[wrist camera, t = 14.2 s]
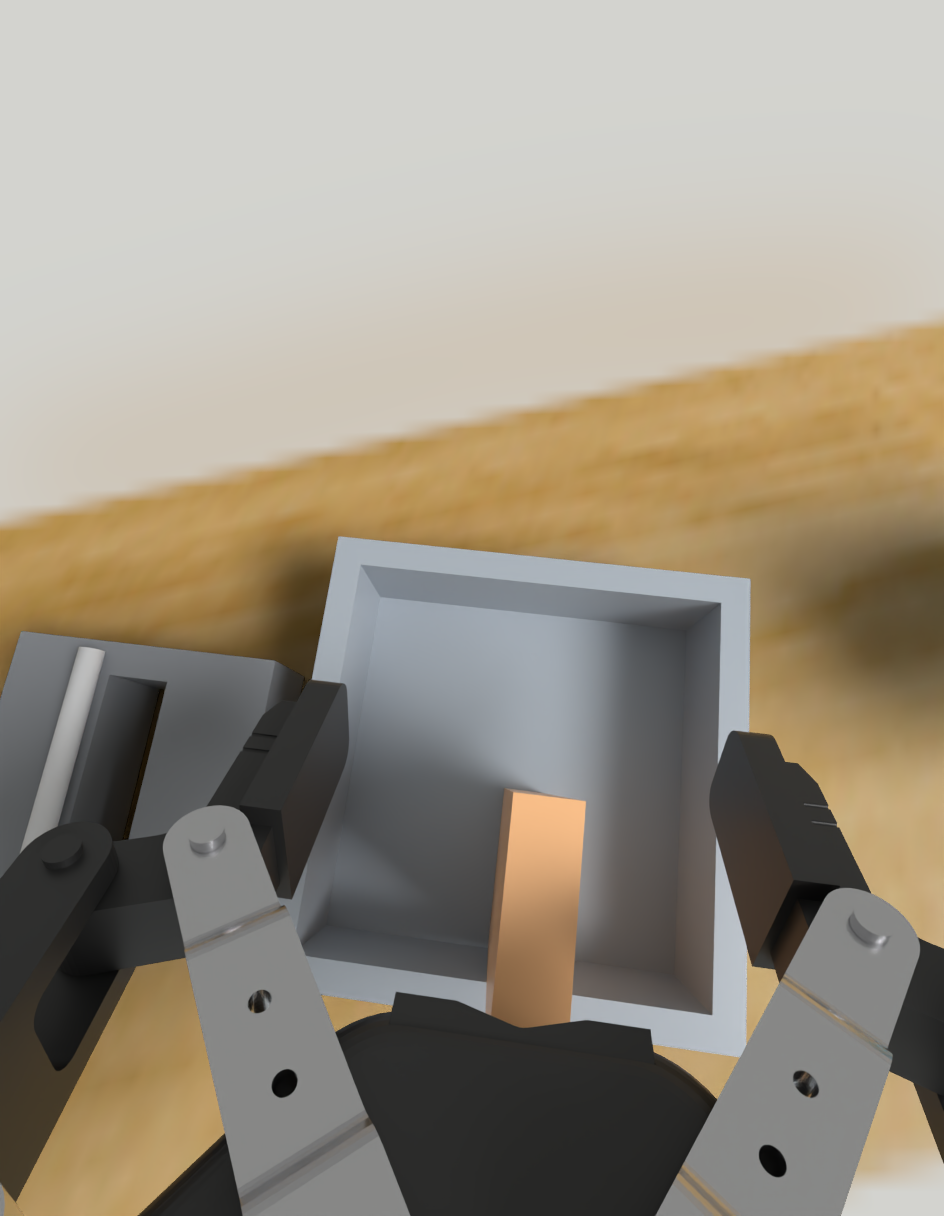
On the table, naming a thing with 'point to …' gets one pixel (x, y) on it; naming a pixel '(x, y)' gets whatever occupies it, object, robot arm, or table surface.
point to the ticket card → (535, 909)
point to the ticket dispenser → (121, 732)
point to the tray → (530, 777)
